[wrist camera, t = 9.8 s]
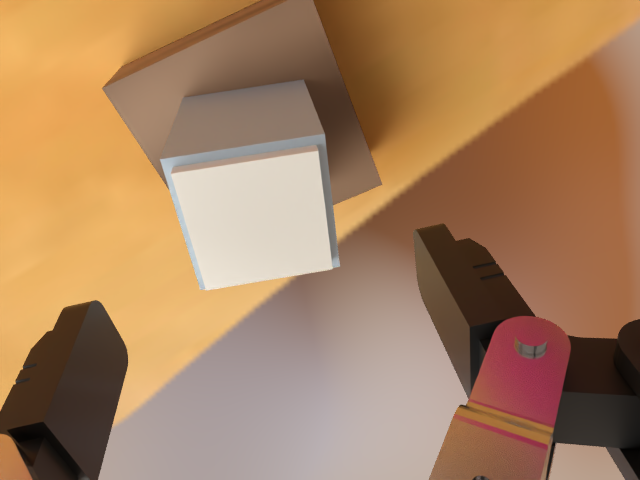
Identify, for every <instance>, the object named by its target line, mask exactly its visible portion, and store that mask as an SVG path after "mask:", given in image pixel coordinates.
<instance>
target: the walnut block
mask: <svg viewBox="0 0 640 480" xmlns="http://www.w3.org/2000/svg"><path fill="white" fill-rule="evenodd" d="M297 80H304V82H305V84H306V87H307V89H308V92H309V95H310V97H311V100H312V102H313V105H314V107H315V110H316V112H317V115H318V118H319V120H320V123H321V125H322V128H323V130H324V133H325V140H326V149H327V158H328V166H329V175H330V184H331V193H332V202H333V205H335V204H337V203H340V202H342V201H344V200H347V199H349V198H352V197H354V196H356V195H359V194H361V193H363V192H366V191H368V190H370V189H373V188H375V187H378V186H380V185H382V182H381V180H380V177H379V174H378V172H377V169H376V166H375V164H374V161H373V158H372V156H371V153H370V150H369V148H368V145H367V142H366V140H365V137H364V134H363V132H362V129H361V126H360V124H359V121H358V118H357V116H356V113H355V110H354V108H353V105H352V102H351V100H350V97H349V94H348V92H347V89H346V87H345V84H344V81H343V79H342V76H341V73H340V71H339V68H338V65H337V63H336V60H335V57H334V55H333V52H332V49H331V47H330V44H329V41H328V39H327V36H326V33H325V31H324V28H323V25H322V23H321V20H320V17H319V15H318V12H317V9H316V7H315V4H314V1H313V0H261V1H259V2H257V3H255V4H253V5H250V6H248V7H246V8H244V9H242V10H240V11H238V12H236V13H234V14H232V15H229V16H227V17H225V18H223V19H221V20H219V21H217V22H215V23H213V24H211V25H208V26H206V27H204V28H202V29H200V30H198V31H196V32H194V33H192V34H190V35H187V36H185V37H183V38H181V39H179V40H177V41H175V42H173V43H171V44H169V45H166V46H164V47H162V48H160V49H158V50H156V51H154V52H152V53H150V54H148V55H145V56H143V57H141V58H139V59H137V60H135V61H133V62H131V63H129V64H127V65H124V66H122V67H121V68H120V69H119V70H118V71H117V72H116V73H115V75H114V76H113V77H112V78H111V79H110V80H109V81H108V82H107V83H106V84H105V86H104V87H103V88H102V89H103V91H104V92H105V94H106V95H107V97H108V98H109V100H110V101H111V103H112V104H113V106H114V107H115V109H116V110H117V112H118V113H119V115H120V116H121V118H122V119H123V121H124V122H125V124H126V125H127V127H128V128H129V130H130V131H131V133H132V134H133V136H134V137H135V139H136V140H137V142H138V143H139V145H140V146H141V148H142V149H143V151H144V153H145V154H146V156H147V157H148V159H149V160H150V162H151V163H152V165H153V166H154V168H155V169H156V171H157V172H158V174H159V175H160V177H161V178H162V180H163V181H164V183H165V184H166V186H167V187H168V184H167V180H166V177H165V174H164V171H163V168H162V164H161V161H160V158H161V155H162V153H163V150H164V147H165V145H166V142H167V139H168V136H169V134H170V131H171V128H172V126H173V123H174V120H175V118H176V115H177V112H178V110H179V107H180V104H181V102H182V99H183V97H190V96H197V95H203V94H210V93H217V92H224V91H230V90H237V89H244V88H250V87H257V86H264V85H270V84H277V83H284V82H290V81H297ZM168 189H169V187H168Z"/></svg>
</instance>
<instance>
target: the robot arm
mask: <svg viewBox="0 0 640 480" xmlns="http://www.w3.org/2000/svg"><path fill="white" fill-rule="evenodd" d="M413 238H414V249H415V260H416V271H417V280H418V286H419V290H420V293H421V296H422V299H423V302H424V304H425V306H426V308H427V311H428V313H429V315H430V316H431V319H432V321H433V323H434V326H435V328H436V330H437V332H438V334H439V336H440V339H441V341H442V343H443V345H444V347H445V349H446V351H447V354H448V356H449V358H450V360H451V362H452V364H453V366H454V369H455V371H456V373H457V375H458V377H459V379H460V382H461V384H462V386H463V388H464V390H465V392H466V394H467V397H468V399H469V400H468V403H467V404H466V406H465V405H460V406H459V407H458V408H457V410H456V412H455V414H454V416H453V419H452V421H451V424H450V427H449V429H448V432H447V434H446V437H445V439H444V442H443V445H442V447H441V450H440V452H439V455H438V458H437V460H436V462H435V465H434V468H433V470H432V473H431V475H430V478H429V480H549V477H550V473H551V468H552V463H553V458H554V453H555V448H556V444H557V443H565V444H577V445H589V446H600V447H606V448H607V450H608V452H609V454H610V455H611V457H612V458H613V460H614V462H615V464H616V465H617V467H618V468H619V470H620V472H621V473H622V475H623V477H624V478H625V480H640V319H639V320H635V321H632V322H629V323H628V324H626V325H624V326H623V327H622V329H621V330H620V332H619V334H618V339H607V338H606V339H605V338H580V337H574V336H568V335H566V333H565V332H564V331H563V330H562V329H561V328H560V327H559V326H557V325H556V324H554V323H552V322H550V321H548V320H545V319H542V318H539V317H536V316H535V315H534V313H533V312H532V311H531V309H530V308H529V307H528V305H527V304H526V302H525V301H524V300H523V298H522V297H521V296H520V294H519V293H518V292H517V290H516V289H515V287H514V286H513V285H512V283H511V282H510V281H509V279H508V278H507V276H506V275H505V276H504V273H503V271H502V270H501V268H500V267H499V265H498V264H496V261H495V260H494V259H493V257H492V256H491V254H490V253H489V252H488V250H487V249H486V248H485V247H483V246H482V245H479V244H478V243H476V242H475V241H473V240H471V239H470V238H468V239H464V240H459V241H455V239H454V238H453V236H452V234H451V233H450V231H449V230H448V228H447V227H446V225H445V224H439V225H434V226H430V227H425V228H420V229H416V230H414V232H413ZM127 367H128V354H127V349H126V346H125V343H124V341H123V340H122V338H121V336H120V334H119V333H118V331H117V329H116V327H115V326H114V324H113V322H112V320H111V319H110V317H109V315H108V313H107V312H106V310H105V308H104V307H103V305H102V304H101V303H100V302H99V301H96V300H95V301H91V302H86V303H82V304H77V305H73V306H68V307H65V308H64V309H63V310H62V312H61V314H60V316H59V318H58V320H57V322H56V324H55V327H54V329H53V331H48V332H47V333H46V334H45V335H44V336H43V337H42V338H41V339H40V340H39V341H38V342H37V343H36V344H35V346H34V347H33V348H32V349H31V351H30V353H29V355H28V357H27V359H26V361H25V363H24V365H23V370H21V371H20V373H19V375H18V377H17V379H16V384H14V385H13V387H12V389H11V391H10V393H9V395H8V397H7V399H6V401H5V403H4V405H3V407H2V409H1V411H0V480H98V477H99V473H100V470H101V466H102V462H103V458H104V454H105V451H106V447H107V443H108V439H109V435H110V432H111V428H112V424H113V420H114V416H115V413H116V409H117V405H118V401H119V397H120V394H121V390H122V386H123V382H124V378H125V375H126V371H127Z"/></svg>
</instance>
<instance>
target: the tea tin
mask: <svg viewBox="0 0 640 480" xmlns="http://www.w3.org/2000/svg"><path fill="white" fill-rule="evenodd" d="M160 161H161V164H162V168H163V171H164V174H165V177H166V180H167V184H168V187H169V190H170V193H171V196H172V200H173V203H174V206H175V209H176V213H177V216H178V219H179V222H180V225H181V229H182V232H183V235H184V238H185V241H186V245H187V248H188V251H189V254H190V258H191V261H192V264H193V267H194V270H195V274H196V277H197V280H198V283H199V286H200V290H203V289H206V290H212V289H218V288H224V287H230V286H236V285H242V284H248V283H254V282H260V281H266V280H272V279H278V278H284V277H289V276H295V275H301V274H307V273H313V272H319V271H324V270H331V269H333V268H334V267H339V266H340V264H339V255H338V246H337V237H336V228H335V220H334V211H333V202H332V193H331V184H330V175H329V166H328V158H327V149H326V140H325V133H324V130H323V128H322V125H321V123H320V120H319V118H318V115H317V112H316V110H315V107H314V105H313V102H312V100H311V97H310V95H309V92H308V89H307V87H306V84H305V82H304V80H297V81H290V82H284V83H277V84H270V85H264V86H257V87H250V88H244V89H237V90H230V91H224V92H217V93H210V94H203V95H197V96H190V97H183V99H182V102H181V104H180V107H179V110H178V112H177V115H176V118H175V120H174V123H173V126H172V128H171V131H170V134H169V136H168V139H167V142H166V145H165V147H164V150H163V153H162V155H161V158H160Z"/></svg>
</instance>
